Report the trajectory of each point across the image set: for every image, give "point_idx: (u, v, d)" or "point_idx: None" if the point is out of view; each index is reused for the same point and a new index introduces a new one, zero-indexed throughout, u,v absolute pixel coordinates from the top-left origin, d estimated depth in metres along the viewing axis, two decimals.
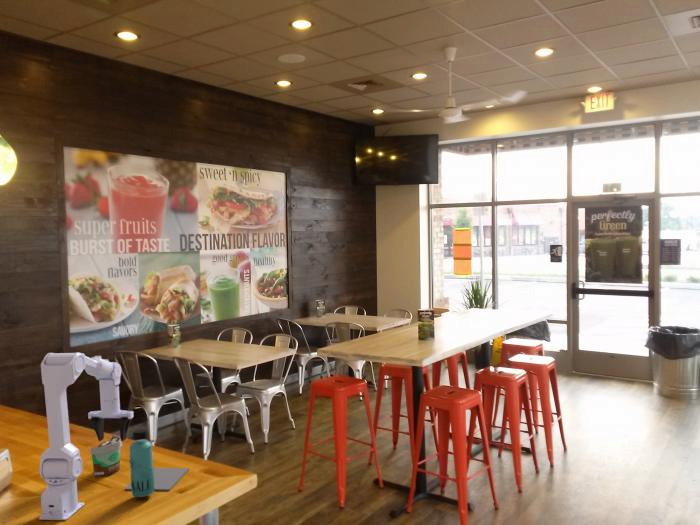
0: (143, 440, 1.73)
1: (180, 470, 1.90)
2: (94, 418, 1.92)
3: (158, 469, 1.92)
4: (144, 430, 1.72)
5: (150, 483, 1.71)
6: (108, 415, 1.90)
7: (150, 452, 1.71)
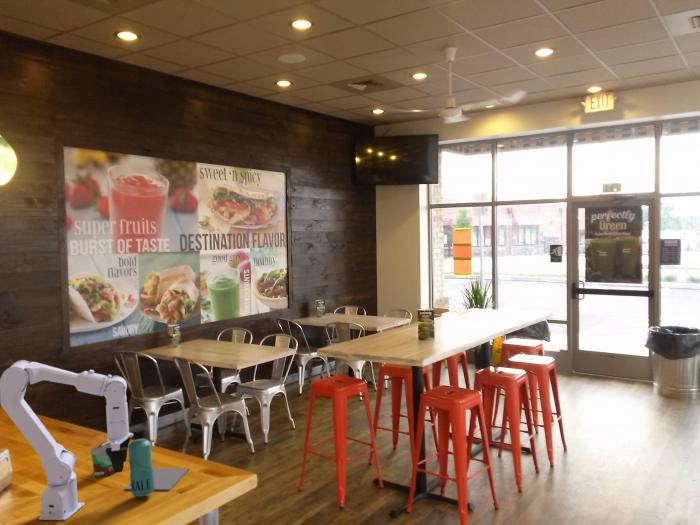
0: (142, 439, 1.73)
1: (180, 470, 1.90)
2: None
3: (158, 469, 1.92)
4: (143, 429, 1.72)
5: (150, 482, 1.71)
6: (107, 437, 1.68)
7: (149, 451, 1.72)
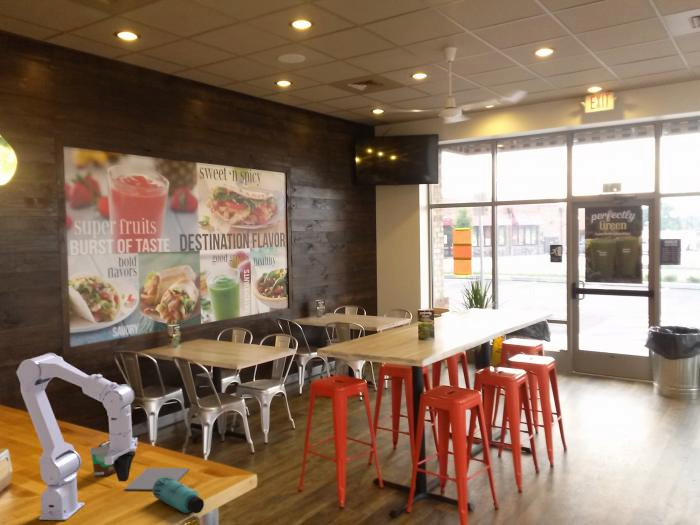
0: None
1: (180, 470, 1.90)
2: None
3: (158, 469, 1.92)
4: (197, 511, 1.60)
5: (161, 500, 1.68)
6: None
7: None
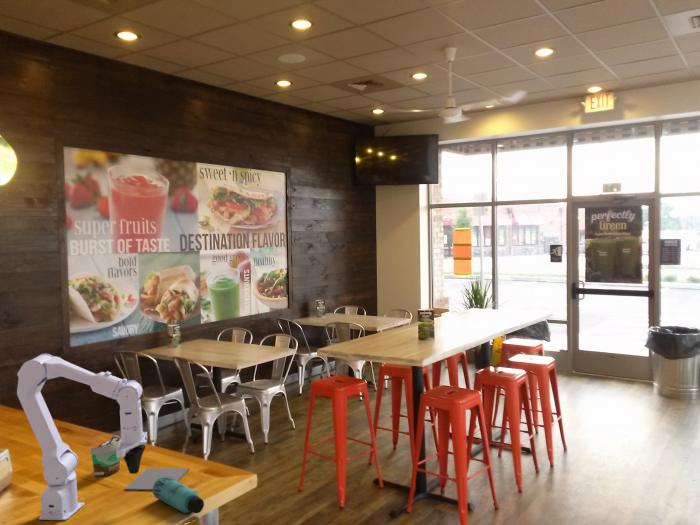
0: None
1: (180, 470, 1.90)
2: None
3: (158, 469, 1.92)
4: (197, 511, 1.60)
5: (161, 500, 1.68)
6: (121, 442, 1.67)
7: None
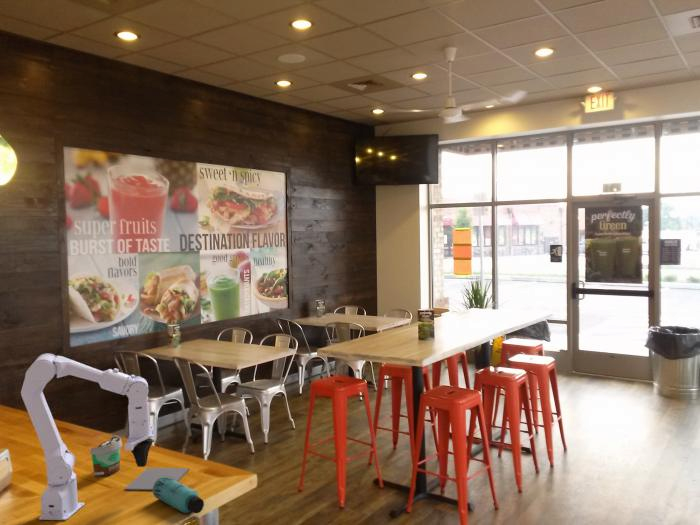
0: None
1: (180, 470, 1.90)
2: None
3: (158, 469, 1.92)
4: (197, 511, 1.60)
5: (161, 500, 1.68)
6: (129, 436, 1.71)
7: None
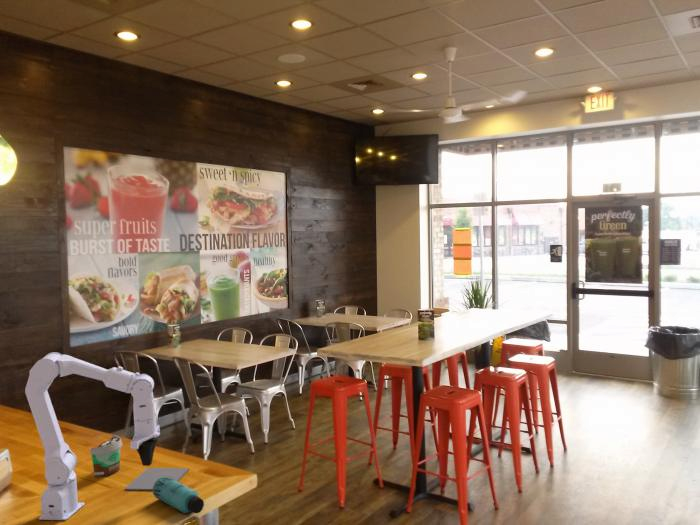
0: None
1: (180, 470, 1.90)
2: None
3: (158, 469, 1.92)
4: (197, 511, 1.60)
5: (161, 500, 1.68)
6: None
7: None
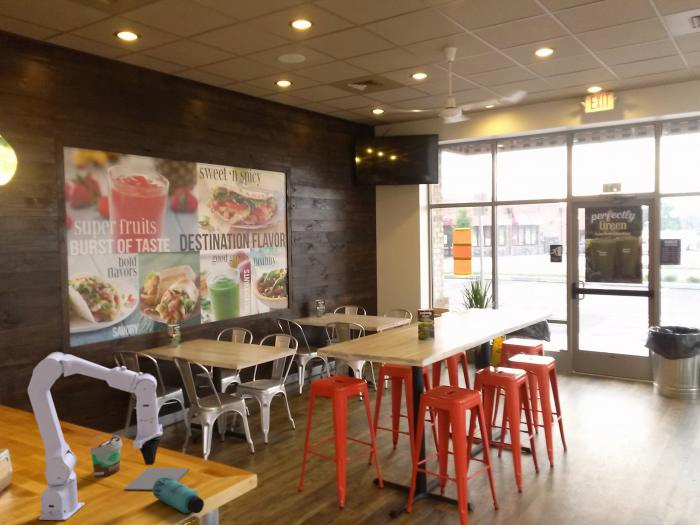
0: None
1: (180, 470, 1.90)
2: None
3: (158, 469, 1.92)
4: (197, 511, 1.60)
5: (161, 500, 1.68)
6: (137, 434, 1.70)
7: None
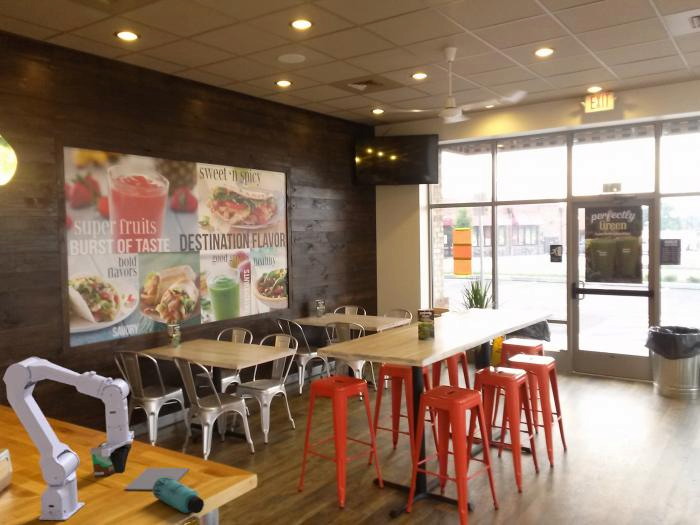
0: None
1: (180, 470, 1.90)
2: None
3: (158, 469, 1.92)
4: (197, 511, 1.60)
5: (161, 500, 1.68)
6: None
7: None
